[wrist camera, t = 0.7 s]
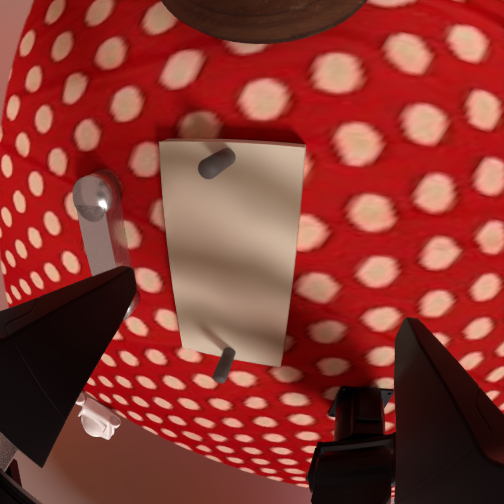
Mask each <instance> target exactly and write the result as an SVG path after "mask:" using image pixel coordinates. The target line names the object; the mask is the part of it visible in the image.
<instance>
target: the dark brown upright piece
mask: <svg viewBox="0 0 504 504" xmlns="http://www.w3.org/2000/svg"><path fill="white" fill-rule="evenodd" d="M161 1H162V2H163V4H164V5H165V6H166V8H167V9H168V10H169V11H170V12H171V13H172V14H173V15H174V16H175V17H177V18H178V19H179V20H180V21H182V22H184V23H185V24H187V25H188V26H190V27H192V28H194V29H197V30H199V31H201V32H203V33H205V34H208V35H210V36H213V37H216V38H220V39H223V40H228V41H232V42H239V43H250V44H271V43H282V42H289V41H294V40H299V39H303V38H307V37H310V36H314V35H316V34H319V33H322V32H324V31H327V30H329V29H331V28H333V27H335V26H337V25H338V24H340V23H342V22H344V21H345V20H346V19H348V18H349V17H351V16H352V15H353V14H354V13H356V12H357V11H358V10H359V9H360V8H361V7H362V6H363V5H364V4H365V2H366V1H367V0H161Z"/></svg>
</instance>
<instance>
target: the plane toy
mask: <svg viewBox="0 0 504 504" xmlns="http://www.w3.org/2000/svg"><path fill="white" fill-rule="evenodd" d="M76 404H78V405H80V406H82V410H81V411H80V413H79V415H78V416H80V415H81V418H82V421H81V422H82V424H83V427H84V429H85V431H86V432H87V433H88V434H89V435H91V436H95V437H99V436H101V437H103V438H105V439H108V440H109V439H110V437H111V435H113V434H114V428H117V427H118V426H119V425H120V423H121V421H120V419H119V417H118V416H115V415H114V414H113V413H112V412H111V411H110V410H108V409H107V408H105V407H104V406H102V405H101V404H99V403H98V402H96V401H95V400H93V399H91V398H89V397H87V398H86V401H85V397H84V395H83V394H82V393H81V394H80V395H79V397H78V399H77V401H76Z"/></svg>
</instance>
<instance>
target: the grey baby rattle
mask: <svg viewBox="0 0 504 504" xmlns="http://www.w3.org/2000/svg"><path fill="white" fill-rule="evenodd" d="M121 200H122V190H121V186H120V183H119V181H118V180H117V178H116V177H115V176H114V175H113V174H112V173H111V172H109V171H107V170H98V171H96V172H93V173H91V174H89V175H87V176H85V177H82V178H80V179H79V180H78V181H77V182H76V183H75V185H74V188H73V201H74V204H75V207H76V209H77V213H78V218H79V223H80V228H81V232H82V237H83V241H84V245H85V250H86V254H87V258H88V262H89V265H90V269H91V273H92V276H94V275H97V274H100V273H103V272H105V271H108V270H111V269H113V268H116V267H119V266H122V265H124V266H128V267H132V265H131V260H130V255H129V249H128V244H127V238H126V232H125V226H124V220H123V213H122V206H121ZM139 302H140V294H139V292H138V290H137V292H136V294H135V297H134V298H133V300H132V302H131V305H130V307H129V309H128V311H127V313H126V315H125V317H124V319H123V320H125V319H127V318H128V317H129V315H130V314H131V313H132V312H133V310H134V309H135V308H136V307H137V305H138V304H139Z"/></svg>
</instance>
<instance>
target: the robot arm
mask: <svg viewBox="0 0 504 504" xmlns="http://www.w3.org/2000/svg"><path fill="white" fill-rule="evenodd" d="M136 292H137V285H136V279H135V273H134V270H133V268H132V267H128V266H124V265H122V266H119V267H116V268H113V269H111V270H108V271H105V272H103V273H100V274H97V275H94V276H92V277H89V278H87V279H84V280H81V281H79V282H76V283H73V284H71V285H68V286H66V287H63V288H60V289H58V290H55V291H53V292H50V293H48V294H45V295H43V296H40V297H39V298H35V299H32V300H30V301H27V302H25V303H22V304H19V305H17V306H14V307H11V308H8V309H5V310H2V311H0V504H42V503H41V502H40V501H38V500H37V499H36V498H34V497H33V496H32V495H31V494H29V493H28V492H27V491H26V490H24V489H23V488H22V484H21V479H20V475H19V469H18V464H17V461H16V460H15V459H14V457H15V455H16V454H17V452H18V451H20V452H21V453H23V454H24V455H25V456H26V457H27V458H29V459H30V460H31V461H33V462H34V463H35V464H37V465H38V466H39V467H41V468H42V467H43V466H44V464H45V462H46V460H47V457H48V456H49V454H50V452H51V450H52V448H53V445H54V443H55V441H56V439H57V437H58V435H59V433H60V431H61V430H62V428H63V426H64V424H65V421H66V419H67V418H68V416H69V414H70V412H71V410H72V408H73V406H74V405H75V403H76V401H77V399H78V397H79V395H80V394H81V392H82V390H83V388H84V386H85V385H86V383H87V381H88V379H89V378H90V376H91V374H92V372H93V371H94V369H95V367H96V365H97V364H98V362H99V360H100V359H101V357H102V355H103V353H104V352H105V350H106V348H107V347H108V345H109V343H110V342H111V340H112V339H113V337H114V335H115V334H116V332H117V330H118V329H119V327H120V325H121V323H122V321H123V319H124V317H125V315H126V313H127V311H128V309H129V307H130V305H131V302H132V300H133V298H134V297H135V294H136ZM342 389H345V390H342ZM389 392H391V393H389ZM394 393H395V411H396V432H393V433H392V434H386V435H385V415H384V408H385V406H386V405H387V403H388V402H389V400H390V398H391V397H392V395H393V394H394ZM329 416H330V417H336V418H335V432H334V441H331V442H323V441H322V442H318V443H317V447H316V448H315V451H314V454H313V458H312V461H311V465H310V468H309V471H308V473H307V475H306V481H307V482H308V483H309V488H310V491H311V493H313V494H312V499H311V502H312V504H390V503H391V486H395V497H394V502H395V503H394V504H504V414H503V413H502V412H501V411H500V410H499V409H498V407H497V406H496V405H495V404H494V403H493V402H492V401H491V399H490V398H489V397H488V396H487V395H486V394H485V392H484V391H483V390H482V389H481V388H479V385H478V384H477V383H476V382H475V381H474V379H473V378H472V377H471V376H470V375H469V374H468V373H467V371H466V370H465V369H464V368H463V367H462V366H461V365H460V363H459V362H458V361H457V360H456V359H455V358H454V357H453V356H452V355H451V353H450V352H449V351H448V350H447V349H446V348H445V347H444V346H443V345H442V344H441V342H440V341H439V340H438V339H437V338H436V337H435V336H434V335H433V334H432V333H431V332H430V331H429V330H428V329H427V328H426V326H425V325H424V324H423V323H422V322H421V321H420V320H419V319H417V318H412V317H406V318H405V319H404V320H403V323H402V325H401V327H400V329H399V331H398V333H397V335H396V339H395V367H394V391H393V390H391V389H374V388H360V387H348V386H342V387H340V388H339V390H338V393H337V395H336V397H335V400H334V402H333V404H332V406H331V409H330V411H329Z"/></svg>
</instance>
